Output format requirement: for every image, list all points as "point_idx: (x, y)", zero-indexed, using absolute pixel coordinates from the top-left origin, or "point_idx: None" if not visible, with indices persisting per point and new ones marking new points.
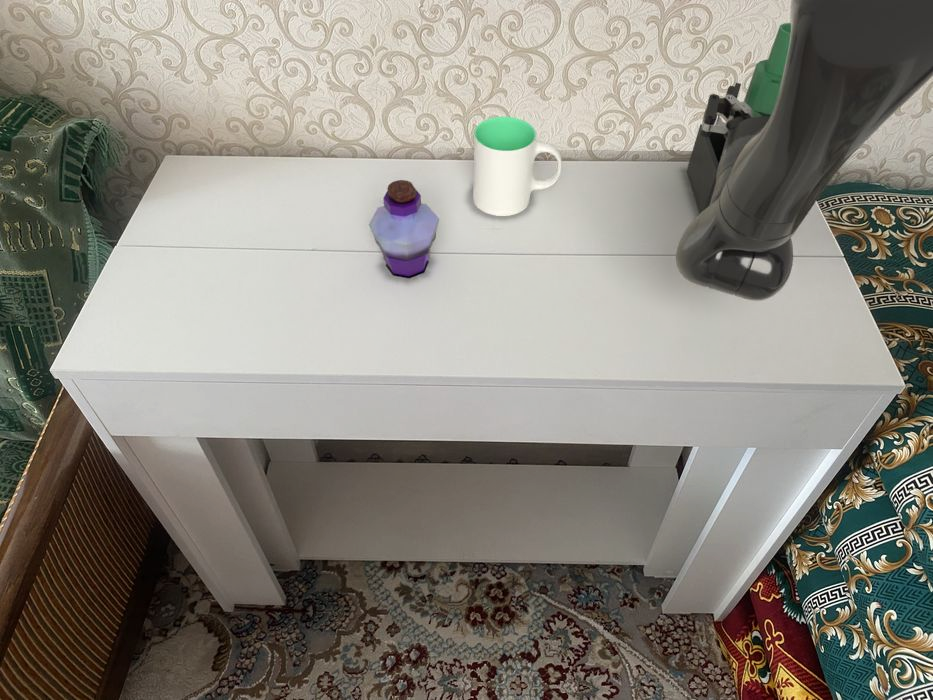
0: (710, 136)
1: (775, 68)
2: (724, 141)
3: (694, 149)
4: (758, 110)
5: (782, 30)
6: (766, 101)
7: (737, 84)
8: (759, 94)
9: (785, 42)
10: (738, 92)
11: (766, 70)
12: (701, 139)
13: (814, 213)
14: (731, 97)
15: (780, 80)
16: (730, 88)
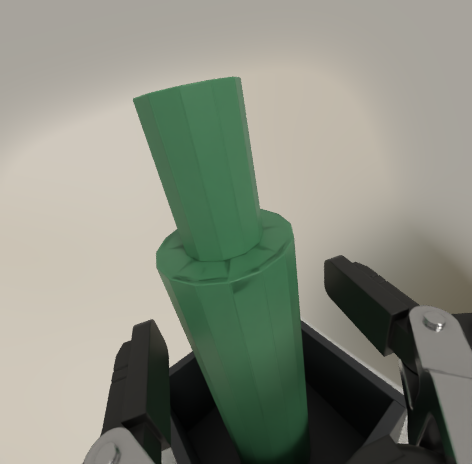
0: (179, 385)
1: (217, 241)
2: None
3: None
4: (246, 369)
5: (146, 94)
6: (254, 342)
7: (138, 333)
8: (220, 336)
9: (190, 134)
10: (146, 378)
11: (193, 258)
12: None
13: (398, 386)
14: (112, 461)
15: (261, 271)
16: (123, 358)
